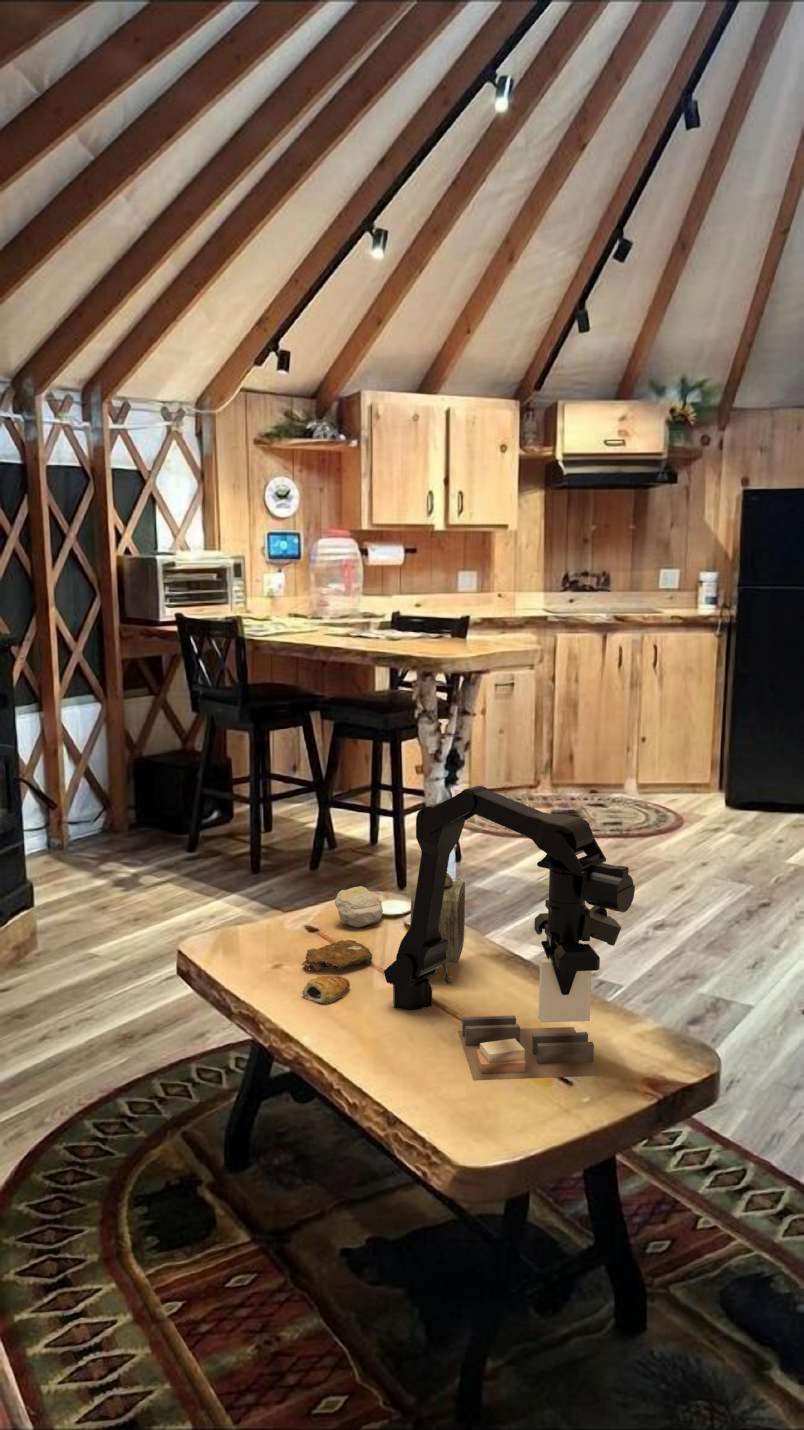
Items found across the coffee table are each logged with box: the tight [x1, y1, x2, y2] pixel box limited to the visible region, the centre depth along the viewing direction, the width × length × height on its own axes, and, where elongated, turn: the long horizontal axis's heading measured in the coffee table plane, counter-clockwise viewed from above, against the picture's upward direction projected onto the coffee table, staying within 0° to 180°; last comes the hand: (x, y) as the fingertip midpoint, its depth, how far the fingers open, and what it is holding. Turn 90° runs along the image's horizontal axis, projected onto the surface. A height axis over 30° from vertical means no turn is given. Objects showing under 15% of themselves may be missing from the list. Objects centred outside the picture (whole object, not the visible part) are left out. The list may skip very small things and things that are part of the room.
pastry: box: [301, 975, 351, 1004], centre depth 192 cm, size 9×7×4 cm
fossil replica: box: [334, 885, 384, 928], centre depth 230 cm, size 12×8×10 cm
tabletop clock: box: [409, 872, 466, 984], centre depth 201 cm, size 14×9×25 cm, turn 170°
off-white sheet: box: [537, 958, 593, 1023], centre depth 163 cm, size 8×2×10 cm, turn 95°
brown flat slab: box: [301, 939, 373, 972], centre depth 206 cm, size 11×4×15 cm
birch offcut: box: [480, 1039, 525, 1064], centre depth 162 cm, size 6×4×2 cm, turn 107°
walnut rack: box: [457, 1015, 602, 1081], centre depth 166 cm, size 20×17×4 cm
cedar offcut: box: [476, 1049, 525, 1073], centre depth 162 cm, size 7×5×2 cm
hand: (563, 992), depth 163 cm, fingers closed on off-white sheet, 2 cm apart
